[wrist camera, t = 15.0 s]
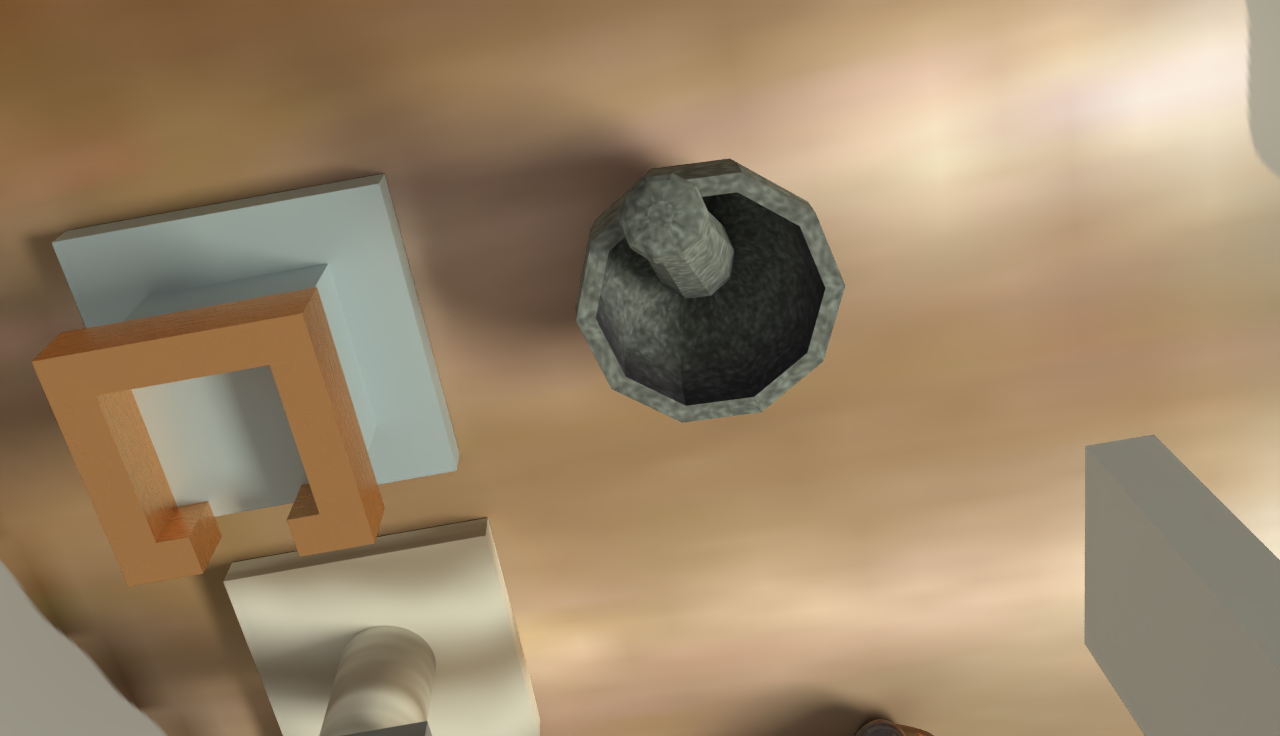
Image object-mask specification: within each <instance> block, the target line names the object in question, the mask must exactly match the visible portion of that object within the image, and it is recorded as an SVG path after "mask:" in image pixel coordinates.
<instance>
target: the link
mask: <svg viewBox="0 0 1280 736" xmlns="http://www.w3.org/2000/svg"><path fill="white" fill-rule="evenodd" d="M32 364H33V367H34V369H35V371H36V374H37V376H38V378H39V381H40V383H41V385H42V388H43V390H44V392H45V395H46V397H47V399H48V401H49V404H50V406H51V408H52V411H53V413H54V415H55V418H56V420H57V422H58V425H59V427H60V429H61V432H62V434H63V436H64V439H65V441H66V443H67V446H68V448H69V450H70V453H71V455H72V457H73V459H74V462H75V464H76V466H77V469H78V471H79V473H80V476H81V478H82V480H83V483H84V485H85V487H86V490H87V492H88V494H89V497H90V499H91V501H92V504H93V506H94V508H95V511H96V513H97V515H98V517H99V520H100V522H101V524H102V527H103V529H104V531H105V534H106V536H107V538H108V541H109V543H110V545H111V548H112V550H113V552H114V555H115V557H116V559H117V562H118V564H119V566H120V569H121V571H122V573H123V575H124V578H125V580H126V582H127V585H128V587H130V586H136V585H141V584H147V583H153V582H158V581H164V580H170V579H175V578H181V577H187V576H193V575H198V574H203V573H204V571H205V569H206V567H207V565H208V563H209V561H210V559H211V557H212V555H213V553H214V551H215V549H216V547H217V545H218V543H219V541H220V539H221V537H222V536H221V533H220V530H219V528H218V525H217V522H216V520H215V517H214V515H213V512H212V509H211V507H210V504H209V501H207V502H201V503H195V504H190V505H184V506H178V507H177V504H176V502H175V499H174V496H173V494H172V491H171V489H170V486H169V484H168V481H167V479H166V476H165V474H164V471H163V469H162V466H161V464H160V461H159V458H158V456H157V453H156V451H155V448H154V446H153V443H152V441H151V438H150V436H149V433H148V431H147V428H146V426H145V423H144V421H143V418H142V415H141V413H140V410H139V408H138V405H137V403H136V400H135V398H134V395H133V393H132V390H131V389H137V388H143V387H148V386H154V385H159V384H165V383H171V382H176V381H182V380H188V379H193V378H199V377H204V376H210V375H216V374H221V373H227V372H233V371H238V370H244V369H249V368H255V367H261V366H266V365H270V368H271V371H272V374H273V377H274V380H275V383H276V386H277V389H278V392H279V395H280V398H281V401H282V404H283V407H284V410H285V413H286V416H287V419H288V422H289V425H290V428H291V431H292V433H293V436H294V439H295V442H296V445H297V448H298V451H299V454H300V457H301V460H302V463H303V466H304V469H305V472H306V475H307V478H308V481H309V484H303V485H301V487H300V489H299V492H298V494H297V497H296V499H295V501H294V504H293V506H292V509H291V511H290V514H289V516H288V518H287V522H288V525H289V528H290V531H291V533H292V536H293V539H294V542H295V545H296V548H297V551H298V553H299V556H300V557H301V556H307V555H312V554H318V553H324V552H329V551H335V550H341V549H347V548H352V547H358V546H364V545H369V544H375V541H376V537H377V534H378V530H379V526H380V523H381V519H382V515H383V512H384V508H385V507H384V504H383V501H382V497H381V494H380V491H379V488H378V484H377V481H376V478H375V475H374V471H373V468H372V465H371V461H370V458H369V455H368V452H367V448H366V445H365V442H364V439H363V435H362V432H361V429H360V425H359V422H358V419H357V416H356V412H355V409H354V406H353V403H352V399H351V396H350V393H349V389H348V386H347V383H346V380H345V376H344V373H343V370H342V367H341V363H340V360H339V357H338V353H337V350H336V347H335V344H334V340H333V337H332V334H331V331H330V327H329V324H328V321H327V317H326V314H325V311H324V308H323V304H322V301H321V298H320V295H319V291H318V288H317V287H314V288H309V289H303V290H297V291H292V292H286V293H281V294H275V295H270V296H264V297H258V298H253V299H247V300H242V301H236V302H230V303H225V304H219V305H214V306H208V307H202V308H197V309H191V310H186V311H180V312H174V313H169V314H163V315H158V316H152V317H147V318H141V319H135V320H130V321H124V322H119V323H113V324H107V325H102V326H96V327H91V328H85V329H79V330H74V331H68V332H63V333H61V334H60V335H58V336H57V337H56V338H55V339H54V340H53V341H52V342H51V343H50V344H49V345H48V346H47V347H46V348H45V349H44V350H43V351H42V352H41V353H40V354H39V355H38V356H37V357H36V358H35V359H34V360H33V361H32Z"/></svg>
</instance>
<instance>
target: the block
mask: <svg viewBox="0 0 1280 736" xmlns="http://www.w3.org/2000/svg"><path fill="white" fill-rule="evenodd" d="M52 245H53V247H54V250H55V252H56V255H57V257H58V260H59V262H60V265H61V267H62V270H63V272H64V275H65V277H66V280H67V282H68V285H69V287H70V290H71V292H72V295H73V297H74V299H75V302H76V304H77V307H78V309H79V312H80V314H81V317H82V319H83V322H84V324H85V327H86V328H91V327H96V326H102V325H107V324H113V323H119V322H124V321H130V320H135V319H141V318H147V317H152V316H158V315H163V314H169V313H174V312H180V311H186V310H191V309H197V308H202V307H208V306H214V305H219V304H225V303H230V302H236V301H242V300H247V299H253V298H258V297H264V296H270V295H275V294H281V293H286V292H292V291H297V290H303V289H309V288H314V287H317V288H318V291H319V295H320V298H321V301H322V304H323V308H324V311H325V314H326V317H327V321H328V324H329V327H330V331H331V334H332V337H333V340H334V344H335V347H336V350H337V353H338V357H339V360H340V363H341V367H342V370H343V373H344V376H345V380H346V383H347V386H348V389H349V393H350V396H351V399H352V403H353V406H354V409H355V412H356V416H357V419H358V422H359V425H360V429H361V432H362V435H363V439H364V442H365V445H366V448H367V452H368V455H369V458H370V461H371V465H372V468H373V471H374V475H375V478H376V481H377V484H383V483H389V482H395V481H400V480H406V479H412V478H417V477H423V476H429V475H434V474H440V473H446V472H451V471H457V465H458V460H459V450H458V447H457V443H456V439H455V435H454V432H453V428H452V424H451V420H450V417H449V413H448V409H447V405H446V402H445V398H444V394H443V390H442V387H441V383H440V379H439V375H438V372H437V368H436V364H435V360H434V357H433V353H432V349H431V345H430V342H429V338H428V334H427V330H426V327H425V323H424V319H423V316H422V312H421V308H420V304H419V301H418V297H417V293H416V289H415V286H414V282H413V278H412V274H411V271H410V267H409V263H408V259H407V256H406V252H405V248H404V244H403V241H402V237H401V233H400V229H399V226H398V222H397V218H396V214H395V211H394V207H393V203H392V199H391V196H390V192H389V188H388V184H387V181H386V177H385V174H379V175H374V176H368V177H362V178H357V179H351V180H346V181H340V182H335V183H329V184H324V185H318V186H312V187H307V188H301V189H296V190H290V191H285V192H279V193H274V194H268V195H263V196H257V197H251V198H246V199H240V200H235V201H229V202H224V203H218V204H213V205H207V206H202V207H196V208H190V209H185V210H179V211H174V212H168V213H163V214H157V215H152V216H146V217H140V218H135V219H129V220H124V221H118V222H113V223H107V224H102V225H96V226H91V227H85V228H79V229H74V230H68V231H66V232H65V233H63V234H62V235H61V236H59V237H58V238H57V239H55V240H54V241H53V242H52ZM131 390H132V393H133V395H134V398H135V400H136V403H137V405H138V408H139V410H140V413H141V415H142V418H143V421H144V423H145V426H146V428H147V431H148V433H149V436H150V438H151V441H152V443H153V446H154V448H155V451H156V453H157V456H158V458H159V461H160V464H161V466H162V469H163V471H164V474H165V476H166V479H167V481H168V484H169V486H170V489H171V491H172V494H173V496H174V499H175V502H176V504H177V507H178V506H184V505H190V504H195V503H201V502H207V501H209V504H210V507H211V509H212V512H213V515H214V517H215V516H221V515H226V514H232V513H238V512H243V511H249V510H255V509H260V508H266V507H272V506H277V505H283V504H289V503H294V501H295V499H296V497H297V494H298V492H299V489H300V487H301V485H303V484H309V481H308V478H307V475H306V472H305V469H304V466H303V463H302V460H301V457H300V454H299V451H298V448H297V445H296V442H295V439H294V436H293V433H292V431H291V428H290V425H289V422H288V419H287V416H286V413H285V410H284V407H283V404H282V401H281V398H280V395H279V392H278V389H277V386H276V383H275V380H274V377H273V374H272V371H271V368H270V365H266V366H261V367H255V368H249V369H244V370H238V371H233V372H227V373H221V374H216V375H210V376H204V377H199V378H193V379H188V380H182V381H176V382H171V383H165V384H159V385H154V386H148V387H143V388H137V389H131Z"/></svg>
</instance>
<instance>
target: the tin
mask: <svg viewBox="0 0 1280 736" xmlns="http://www.w3.org/2000/svg"><path fill="white" fill-rule="evenodd" d="M855 736H933V735H932V734H930V733H929V732H927V731H924V730H921V729H917V728H914V727H909V726H904V725H899V724H894V723H893V722H891V721H888V720H885V719H877V720H873V721H871V722H869V723H867V724H866V725H864V726H863V727H862V728H861V729H860V730H859V731H858V732H857V733H856V734H855Z"/></svg>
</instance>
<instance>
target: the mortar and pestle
mask: <svg viewBox="0 0 1280 736" xmlns="http://www.w3.org/2000/svg"><path fill="white" fill-rule="evenodd" d="M844 288H845V284H844V282H843V279H842V277H841V274H840V272H839V269H838V267H837V264H836V262H835V260H834V257H833V255H832V252H831V250H830V247H829V245H828V242H827V240H826V238H825V235H824V233H823V230H822V228H821V225H820V223H819V220H818V218H817V215H816V213H815V211H814V210H813V208H812V207H811V206H810V204H809V203H808V202H807V201H805V200H804V199H802V198H800V197H798V196H796V195H795V194H793V193H791V192H789V191H787V190H786V189H784V188H782V187H780V186H778V185H777V184H775V183H773V182H771V181H769V180H767V179H766V178H764V177H762V176H760V175H758V174H757V173H755V172H753V171H751V170H749V169H748V168H746V167H744V166H742V165H740V164H739V163H737V162H735V161H733V160H731V159H723V160H715V161H708V162H700V163H692V164H685V165H677V166H669V167H662V168H654V169H651V170H650V171H649V172H648V173H647V174H646V175H645V176H644V177H642V178H641V179H640V180H639V181H638V182H637V183H636V184H635V185H634V186H633V187H632V188H630V189H629V190H628V191H627V192H626V193H625V194H624V195H623V196H622V197H621V198H620V199H619V200H617V201H616V202H615V203H614V204H613V205H612V206H611V207H610V208H609V209H608V210H607V211H605V212H604V213H603V214H602V215H601V216H600V217H599V218H598V219H597V220H596V221H595V222H594V224H593V226H592V228H591V230H590V235H589V240H588V245H587V251H586V256H585V261H584V266H583V272H582V277H581V282H580V287H579V293H578V298H577V303H576V322H577V324H578V326H579V328H580V330H581V331H582V333H583V335H584V337H585V339H586V341H587V343H588V345H589V347H590V348H591V350H592V352H593V354H594V356H595V358H596V360H597V362H598V364H599V366H600V367H601V369H602V371H603V373H604V375H605V377H606V379H607V381H608V383H609V385H610V386H611V388H612V389H613V390H615V391H617V392H619V393H621V394H623V395H626V396H628V397H630V398H632V399H634V400H636V401H638V402H640V403H642V404H644V405H646V406H649V407H651V408H653V409H655V410H657V411H659V412H661V413H663V414H665V415H667V416H669V417H672V418H674V419H676V420H678V421H680V422H690V421H697V420H705V419H712V418H720V417H727V416H735V415H743V414H750V413H758V412H762V411H763V410H764V409H766V408H767V407H768V406H769V405H771V404H772V403H773V402H774V401H775V400H777V399H778V398H779V397H780V396H781V395H783V394H784V393H785V392H786V391H788V390H789V389H790V388H791V387H792V386H794V385H795V384H796V383H797V382H798V381H800V380H801V379H802V378H803V377H805V376H806V375H807V374H808V373H809V372H811V371H812V370H813V369H814V368H815V367H817V366H818V365H819V364H820V363H822V362H823V360H824V357H825V354H826V350H827V347H828V343H829V340H830V336H831V333H832V329H833V326H834V322H835V319H836V316H837V312H838V309H839V305H840V302H841V298H842V295H843V291H844Z"/></svg>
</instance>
